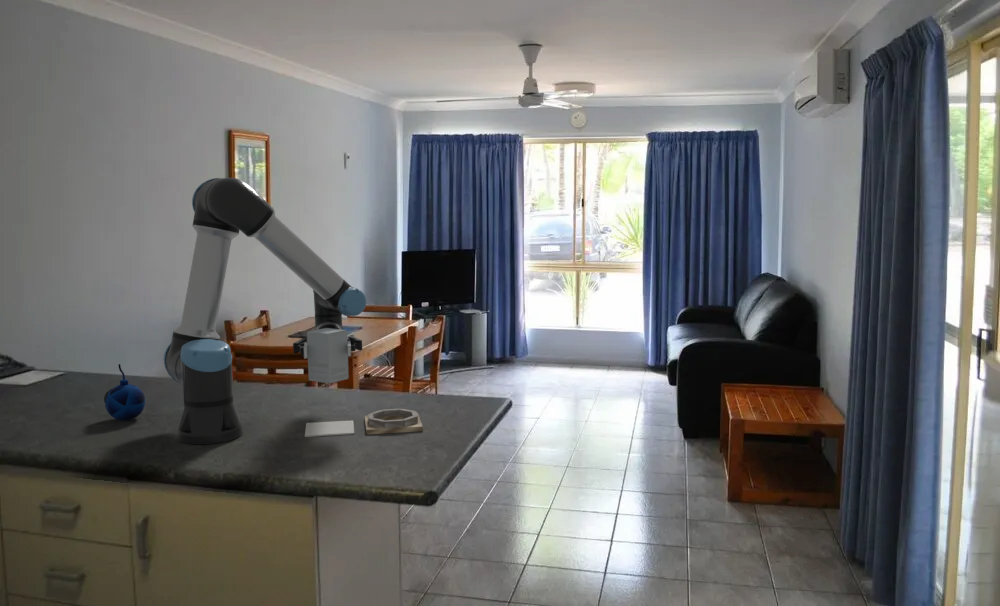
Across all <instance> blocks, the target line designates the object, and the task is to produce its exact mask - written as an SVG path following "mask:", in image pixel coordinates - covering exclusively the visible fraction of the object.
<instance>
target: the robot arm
mask: <svg viewBox="0 0 1000 606" xmlns="http://www.w3.org/2000/svg"><path fill="white" fill-rule="evenodd" d="M191 205H192V209H193V212H194V214H193V218H192V219H193V221H192V225H191V226H192V228H193V229H194V230H195V232H196V238H195V244H194V248H193V249H194V250H193V254H192V260H191V266H190V271H189V277H188V282H187V283H188V284H187V288H186V294H185V295H186V296H185V300H184V305H183V311H182V316H181V321H180V322H181V323H180V325H179V326H177V327H176V328H175V329H173V331H172V335H171V336H172V338H171V341H170V343H169V344H168V346H167V348H166V349H165V352H164V354H163V365H164V368H165V371H166V372H167V374H168V375H169V376H170V377H171V379H173V380H174V381H175V382H177V383H179V384H180V385H182V391H183V392H182V393H183V411H182V415H181V418H180V421H179V426H178V428H177V435H178V441H180V442H181V443H184V444H190V445H210V444H217V443H223V442H229V441H233V440H234V439H237V438H240V436H241V437H242V435H243V423H242V420H241V419H240V416H239V413H238V411H237V409H236V406H235V403H234V402H235V401H234V400H235V399H234V384H233V383H234V382H233V381H234V379H233V366H232V365H233V363H232V362H233V354H232V352H231V351H232V348H231V347H230V344H228V343H227V342H225V341H223V340H221V336H220V335H219V334H218V332H217V330H216V328H217V323H218V322H217V321H218V318H219V312H220V305H221V300H222V295H223V289H224V284H225V279H226V273H227V267H228V261H229V256H230V250H231V246H232V245H231V244H232V240H233V239H234V238H236V237H237V236H239V234H240V232H242V233H243V235H245V236H246V237H248V238H255V239H256V240H257V242H259V243H260V244H261V245H263V246H264V248H266V249H267V250H268V251H269V252H270V253H271V254H273V256H274V257H276V258H277V259H278V260H279V261H281V262H282V264H284V265H285V266H286V268H288V269H290V270H291V272H293V273H294V274H295V275H296V276H297V277H298V278H300V280H302V281H303V282H304V283H305V285H307V286H309V287H310V288H311V289H312V292H313V304H314V306H313V307H314V330H318V329H324V328H331V329H341V330H344V329H343V316H344V317H356V316H357V317H358V315H361V314H362V313H363V312H364V310H365V308H366V307H367V298H366V295H365V293H364V292H363V291H362V290H360V289H358V288H356V287H354V286H352V285H351V284H349V283H348V282H347V281H346V280H345V279H344V278H343V277H342V276H341V275H339V273H338V272H336V271H335V270H334V269H333V268H332V267H331V266H330V265H329V264H328V263H327V262H326V261H325V260H324V259H323V258H321V256H319V255H318V253H316V252H315V251H314V250H313V249H312V248H311V247H310V246H309V245H307V243H305V242H304V241H303V240H302V239H301V237H299V236H298V235H297V234H296V233H295V232H293V231H292V230H291V229H290V228H289V227H288V226H287V224H285V223H284V222H283V221H282V220H281V219H279V217H277V216H276V211H275V208H274V207H273V206H272V205H271V204H269V203H268V202H267V201H266V200H265V199H264V197H262V196H261V195H260V194H259V192H257V191H256V190H255V189H254V188H253V187H252V186H251V185H249V184H248V183H247V182H245V181H244V180H242V179H239V178H235V177H223V178H221V177H220V178H219V177H216V178H215V177H214V178H211V179H207V180H206V181H204V182H202V183H201V184H199V185H198V187H196V189H195V190H194V192H193V195H192V200H191ZM347 342H348V357H352V352H355V351H356V350H357V351H362V350H363V340H362V339H360V338H358V337H355V335H354V334H350V335H349V336H348V335H347ZM292 347H293V348H292V350H293V352H292V353H293V354H298V353H300V357H303V359H304V360H305V359H308V345H307V336H302V337H301V338H300V339H299V340H296V341H295V342H293V343H292Z"/></svg>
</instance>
